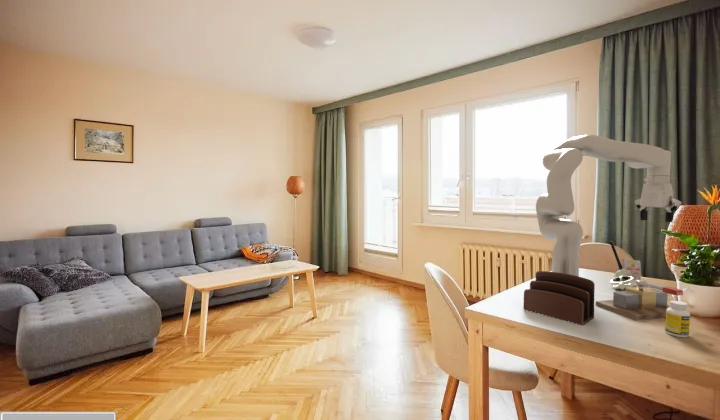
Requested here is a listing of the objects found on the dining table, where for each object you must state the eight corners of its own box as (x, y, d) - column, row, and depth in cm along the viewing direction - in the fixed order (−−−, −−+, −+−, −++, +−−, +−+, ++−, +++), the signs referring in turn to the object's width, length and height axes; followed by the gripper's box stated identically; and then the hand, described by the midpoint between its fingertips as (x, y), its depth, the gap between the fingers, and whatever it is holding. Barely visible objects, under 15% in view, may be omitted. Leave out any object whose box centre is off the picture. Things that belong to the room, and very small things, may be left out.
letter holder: (535, 304, 137) (536, 268, 136) (594, 319, 122) (595, 278, 121) (522, 310, 131) (523, 272, 130) (583, 326, 115) (584, 283, 115)
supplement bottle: (682, 339, 105) (684, 306, 104) (661, 332, 110) (662, 301, 109) (692, 336, 107) (694, 303, 106) (671, 329, 112) (672, 298, 111)
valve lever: (632, 284, 130) (633, 279, 130) (640, 283, 131) (640, 279, 131) (675, 295, 116) (675, 290, 116) (683, 294, 117) (683, 290, 117)
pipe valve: (627, 310, 125) (628, 289, 124) (611, 304, 131) (612, 284, 130) (669, 306, 128) (670, 286, 128) (651, 301, 135) (652, 281, 134)
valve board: (636, 320, 120) (636, 315, 120) (595, 305, 135) (595, 301, 135) (688, 315, 124) (688, 310, 124) (642, 301, 140) (643, 297, 140)
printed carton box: (621, 279, 173) (621, 258, 173) (638, 280, 170) (639, 260, 170) (622, 281, 170) (623, 260, 169) (640, 282, 167) (641, 261, 166)
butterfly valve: (636, 292, 150) (637, 280, 163) (619, 246, 152) (622, 238, 165) (612, 295, 156) (615, 283, 169) (596, 251, 157) (600, 242, 170)
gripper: (630, 180, 157) (628, 219, 158) (675, 179, 140) (673, 223, 141) (642, 180, 159) (640, 219, 160) (688, 179, 143) (686, 222, 144)
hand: (656, 221), depth 151 cm, fingers open, 9 cm apart
